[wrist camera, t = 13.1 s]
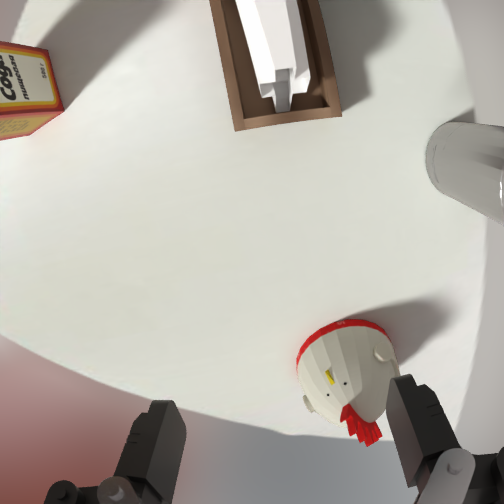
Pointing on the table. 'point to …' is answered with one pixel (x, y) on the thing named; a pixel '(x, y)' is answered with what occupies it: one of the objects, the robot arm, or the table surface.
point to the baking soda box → (26, 90)
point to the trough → (245, 81)
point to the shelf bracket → (276, 48)
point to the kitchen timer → (348, 375)
